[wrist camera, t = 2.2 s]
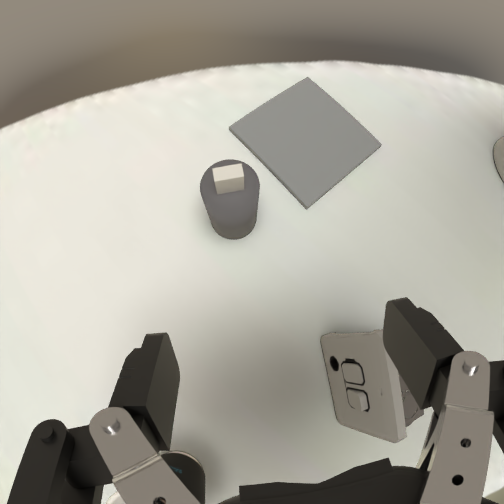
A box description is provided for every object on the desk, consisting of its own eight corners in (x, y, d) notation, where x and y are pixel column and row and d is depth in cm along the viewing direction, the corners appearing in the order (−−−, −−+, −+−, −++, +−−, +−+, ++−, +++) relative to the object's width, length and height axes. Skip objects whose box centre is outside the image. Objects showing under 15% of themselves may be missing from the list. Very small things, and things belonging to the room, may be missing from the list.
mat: (306, 80, 35) (307, 76, 34) (379, 147, 33) (381, 144, 33) (229, 129, 33) (228, 126, 33) (306, 209, 32) (307, 207, 31)
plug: (251, 192, 32) (254, 139, 22) (260, 235, 31) (267, 196, 21) (207, 200, 32) (191, 150, 22) (214, 243, 31) (200, 208, 21)
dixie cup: (184, 510, 26) (164, 572, 15) (128, 464, 26) (85, 514, 16) (235, 472, 27) (231, 535, 16) (175, 422, 28) (143, 470, 17)
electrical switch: (317, 334, 30) (359, 339, 21) (365, 320, 30) (418, 318, 21) (336, 422, 28) (379, 455, 19) (381, 405, 29) (433, 427, 20)
